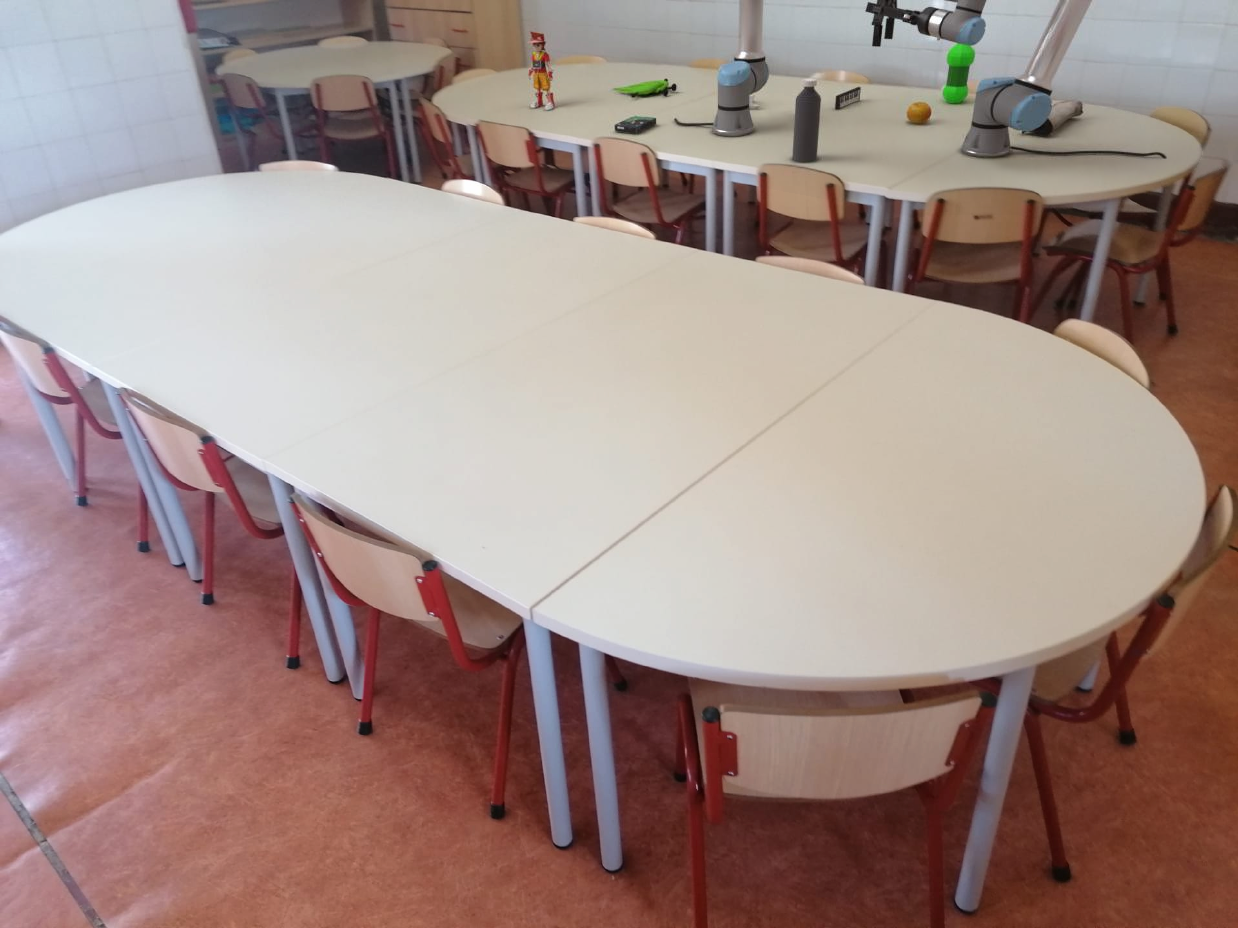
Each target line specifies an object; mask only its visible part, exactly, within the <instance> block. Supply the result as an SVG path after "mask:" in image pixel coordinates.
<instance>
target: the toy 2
mask: <svg viewBox="0 0 1238 928" xmlns="http://www.w3.org/2000/svg"><path fill="white" fill-rule="evenodd" d="M669 85H670V83H669V79H668V78H664V79H663V80H649V81H644V82H640V83H634V84H629V85H627V86H621V87H613V88H612V89H613V90H616V91H619V92H623V93H627V94H628V93H629V94H631V95H630V96H631V98H632V99H634V98H636V96H637V95H650V94H652V93H654V94H658V93H662V95H663V96H665V97H667V96H668V95H669V90H671V91H672V92H676V91H677V84H676V83H672V84H671V86H669Z"/></svg>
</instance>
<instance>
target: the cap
mask: <svg viewBox="0 0 1238 928" xmlns="http://www.w3.org/2000/svg"><path fill="white" fill-rule="evenodd" d="M817 82H818V79H817V78H814V77H808V78H807V77H805V78H803V79H802V81H801V85H802V87H803V88H804V87H813V86H814V87H816V86H817Z"/></svg>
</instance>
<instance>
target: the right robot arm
mask: <svg viewBox="0 0 1238 928" xmlns="http://www.w3.org/2000/svg"><path fill="white" fill-rule="evenodd" d="M945 1H946V2H952V3H956V5H955V9H954V11H953V10H948V9H943V8H937V7H934V6H927V7H925V8H924V9H923V10H922V11H920V10H913V9H912V10H911V9H903V8H900V7H897V8H895V9H894V8H889V7H886V6H885V4H884V3H883V5H879V4H877V3H874V2H870V1H868V2H867V4H866V8H865V11H864V12H865V13H869V14H873V15H874V14H877V15H880V16H884V17H886V18H888V17H891V18H895V20H901V22H902V23H906V24H910V26H916V27H917V32H918V33H919V34H920V35H925V36H929V37H932V38H936V41H941V40H945V41H948V42H952V43H955V44H957V43H959V44H964V45H970V46H971V47H972V46H976V45H978V43H980V42H981V40H982V39H983V37H984V35H985V33H986V27H987V23H986V21H985V18H982V15H983V11H984V8H985V5H986V3H987V0H945ZM1092 2H1093V0H1058V2H1057V4H1056V6H1055V9H1054V10H1053V13H1052V14H1051V16H1050V18H1049V21H1048V23H1047V25H1046V27H1045V29H1044V31H1043V32H1042V35H1041V37H1040V39H1039V41H1038V43H1037V45H1036V48H1035V49H1034V51H1033V53H1032V56H1031V58H1030V60H1029V63H1028V64H1027V67H1026V68H1025V70H1024V72H1023V74H1021V75H1019V76H1017V77H1013V76H999V77H998V76H997V77H989V78H984V79H982V80H980V81H979V82H978V84H977V88H976V91H975V97H974V98H975V99H974V104H973V112H972V118H971V123H970V128H969V130H968V132H967V134H966V136H965V132H963V134H962V138H963V139H964V140H963V141H962V144H961V149H960V151H961V153H963V154H964V155H967V156H970V157H976V158H984V159H985V158H986V159H988V158H989V159H990V158H991V159H993V158H1000V157H1001V158H1002V157H1005V156H1007V155H1009V154H1010V153H1011V150H1014V151H1020V152H1025V153H1031V154H1038V155H1039V154H1040V155H1059V156H1060V155H1061V156H1062V155H1063V156H1064V155H1082V154H1085V155H1086V154H1087V155H1088V154H1089V155H1090V154H1107V155H1108V154H1109V155H1110V154H1111V155H1125V156H1134V157H1150V156H1159V157H1161V158H1163V159H1167V156H1166V155H1165V154H1164V153H1162V152H1159V151H1153V152H1144V153H1142V152H1132V151H1131V152H1130V151H1121V150H1074V151H1073V150H1071V151H1048V150H1047V151H1045V150H1035V149H1029V148H1025V147H1024V148H1023V147H1019V146H1012V145H1011V139H1010V138H1011V137H1010V130H1009V128H1011V129H1013V130H1015V131H1021V132H1022V131H1032V130H1034V129H1036V128H1038V127H1040V126H1041V125H1042V124H1043V123H1044V122H1045V121H1046V120H1047V118H1048V117H1049V115H1050V113H1051V110H1052V106H1053V105H1052V104H1053V99H1052V98H1051V95H1052V93H1053V91H1054V89H1053V85H1052V82H1053V80H1054V78H1055V76H1056V74H1057V72H1058V70H1059V68H1060V66H1061V64H1062V62H1063V60H1064V58H1065V56H1066V53H1067V52H1068V50H1069V47H1070V46H1071V44H1072V42H1073V40H1074V38H1075V36H1076V34H1077V32H1078V30H1079V28H1080V26H1081V24H1082V22H1083V20H1084V17H1085V16H1086V14H1087V11H1088V10H1089V7H1090V6H1091V4H1092Z"/></svg>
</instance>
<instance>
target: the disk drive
mask: <svg viewBox="0 0 1238 928" xmlns="http://www.w3.org/2000/svg"><path fill="white" fill-rule="evenodd" d="M656 125H657V117H652V116H651V117H650V116H637V115H633V116H630V117H628V118H626V119H624V120H621V121H619V122H618V123H615V124H614V132H617V133H618V132H619V133H626V134H635V135H637V134H639V133H642V132H644V131H646V130H647V129H651V128H653V127H654V126H656Z"/></svg>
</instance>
